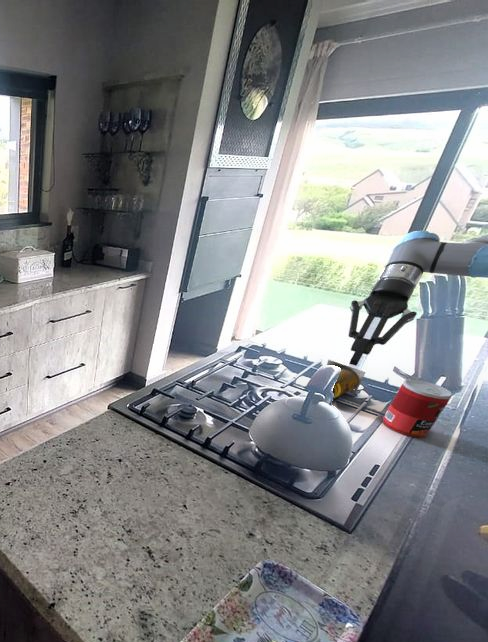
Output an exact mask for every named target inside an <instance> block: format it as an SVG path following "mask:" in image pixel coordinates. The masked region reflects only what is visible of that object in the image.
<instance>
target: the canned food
mask: <svg viewBox="0 0 488 642" xmlns="http://www.w3.org/2000/svg"><path fill="white" fill-rule="evenodd" d="M452 396H453V393H452V392H451V391H450V390H449V389H447V388H445V387H443V386H441V385H438V384H436V383H433V382H429V381H425V380H422V379H421V380H420V379H414V378H413V379H411V378H408V379H405V380H404V381H403V382H402V384H401V385H400V386H399V388H398V391H397V392H396V394H395V395H394V397H393V400H392V401H391V402H390V404H389V406H388V408H387V410H386V411H385V413H384V416H382V417H383V418H382V423H383V424H384V426H386V428H389V429H390V430H392V431H393V432H396V433H398V434H401V435H404V436H407V437H412V438H424V437H425V436H426V435H428V434H429V432H430V431H431V429H432V428H433V426H434V425H435V423H436V422H437V420H438V418H440V416H441V414H442V412H443V411H444V409H445V408H446V406H447V405H448V403H449V402H450V400H451V399H452Z"/></svg>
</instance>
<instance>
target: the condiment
mask: <svg viewBox="0 0 488 642" xmlns="http://www.w3.org/2000/svg"><path fill="white" fill-rule="evenodd" d="M326 365H335V366H338V367H340V368H341V372H340V374H339V377H338V379H337V381H336V383H335V385H334V388H333V393H334V396H335V397H334V398H333V399H336V398H338V397H340V396H342V395H343V394H347V395H350V396H353V397H355V395H356V393H357V391H358V389H359V387H360V385H361V383H362V381H363V379H364V377H365V375H366V372H365V371H363V370H360V369H357V368H356V367H351V366H350V365H346V364H343V363H340V362H337V361H334V360H331V359H328V360H327V363H326ZM353 389H355V390H353ZM356 390H357V391H356Z"/></svg>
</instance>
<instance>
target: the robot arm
mask: <svg viewBox="0 0 488 642" xmlns="http://www.w3.org/2000/svg"><path fill="white" fill-rule="evenodd" d="M424 273H426V274H427V273H428V274H438V275H439V274H440V275H450V276H460V277H469V278H472V279H473V278H474V279H475V278H483V279H484V278H487V279H488V234H485V235H481V236H478V237H474V238H473V237H472V238H471V239H468V240H465V241H463V242H446V241H445V242H444V241H441V239H440V236H439V235H438V234H437V233H434V232H429V231H428V230H415V231H411V232H408V233H406V234H405V235H403V236H402V237H401V238H400V240H399V241H398V243H397V245H395V247H394V248H393V250H392V252H391V254H390V256H389V258H388V260H387V262H386V264H385V266H384V268H383V269H382V271H381V273H380V275H379V276H378V279H377V280H376V282H375V284H374V286H373V287H372V289H371V291H370V293H369V294H368V296H367V297H364V299H363V300H360V301H358V300H356V299H355V300H352V301H351V303H350V306H349V308H350V311H351V318H350V323H349V328H348V338H351V339H354V341H353V343H352V345H351V347H350V351H351V352H354V353H353V355H352V357H351V358H350V360H349V365H352V366H356V367H357V366H358V364H359V363H360V360H361V358H362V357H363V355H367V356H368V355H370V354H371V353H372V350H373V348H374V346H375V345H380V346H384V345H386V344H387V343H388V342H389V341H390V340H391V339H392V338H393V337H394V336H395V335H396V334H397V333H398V332H399V331H400V330H401V329H402V328H403V327H404V326H405V325H406V324H408V323H411V322H412V321H414V320H415V318H416V316H417V315H418V313H417V312H416V311H411V310H410V309H409V304H408V303H409V301H410V299H411V297H412V295H413V293H414V291H415V289H416V288H417V285H418V284H419V282H420V280H421V278H422V276H423V274H424ZM363 307H364V309H365V311H366V313H367V317H366V319H365V320H364V323H363V324H362V326H361V328H360V330H359V331H357V328H358V323H359V317H360V311H361V310H362V309H363ZM399 315H400V318H399V319H398V320H397V321H396V322H395V323H394V324H393V325H392V326H391V327H390V328H389V329H388V330H387V331H386V332H385V333H384V334H383V335H382V336H380V335H381V333H382V331H383V329H384V327H385V326H386V324H387V322H388V320H390V319H392V318H394V317H397V316H399ZM375 318H379V319H380V320H379V322H378V323H377V325H376V327H375V329H374V331H373V333H372V335H371V336H370V338H365V336H366V334H367V332H368V330H369V329H370V327H371V325H372V323H373V322H374V319H375Z"/></svg>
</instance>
